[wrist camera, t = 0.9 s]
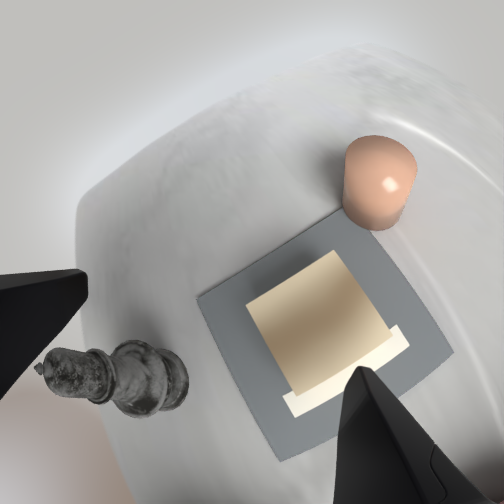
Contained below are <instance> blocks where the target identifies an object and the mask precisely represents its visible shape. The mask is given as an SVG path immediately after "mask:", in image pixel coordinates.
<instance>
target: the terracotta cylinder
mask: <svg viewBox="0 0 504 504" xmlns="http://www.w3.org/2000/svg"><path fill="white" fill-rule="evenodd" d="M416 174H417V164H416V161H415V158H414V157H413V155H412V154H411V152H410V151H409V150H408V149H407V148H406V147H405V146H403V145H402V144H401V143H399V142H397V141H395V140H393V139H390V138H387V137H383V136H376V135H372V136H364V137H361V138H358V139H356V140H355V141H353V142H352V143H351V144H350V145H349V147H348V148H347V151H346V158H345V174H344V187H343V199H342V204H343V208H344V211H345V213H346V215H347V216H348V217H349V218H350V220H351V221H353V222H354V223H355V224H357V225H358V226H360V227H362V228H365V229H368V230H373V231H379V230H385V229H388V228H390V227H392V226H393V225H395V224H396V223H397V222H398V220H399V218H400V216H401V214H402V211H403V209H404V206H405V204H406V201H407V199H408V196H409V193H410V191H411V188H412V185H413V183H414V180H415V177H416Z"/></svg>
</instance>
